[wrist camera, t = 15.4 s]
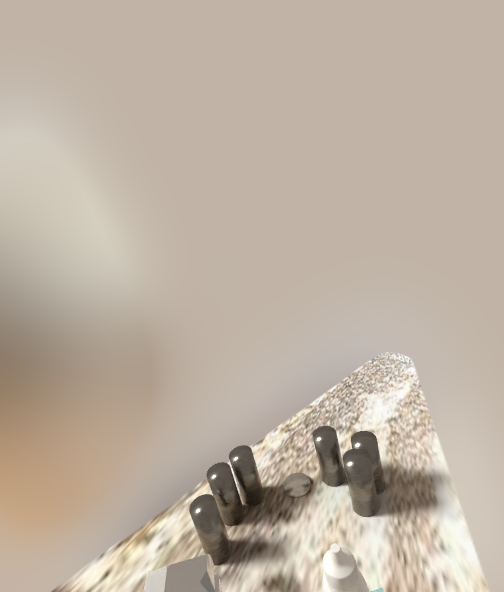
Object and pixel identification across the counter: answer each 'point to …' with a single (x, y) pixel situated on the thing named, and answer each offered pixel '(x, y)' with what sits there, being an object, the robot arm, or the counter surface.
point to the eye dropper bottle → (341, 572)
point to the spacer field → (226, 501)
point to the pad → (378, 590)
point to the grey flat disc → (297, 485)
